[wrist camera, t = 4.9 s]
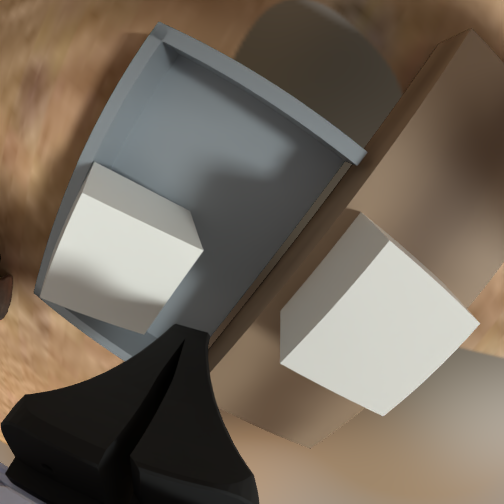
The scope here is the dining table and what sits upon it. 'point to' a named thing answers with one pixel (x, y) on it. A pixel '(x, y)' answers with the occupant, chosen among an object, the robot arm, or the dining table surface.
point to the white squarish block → (120, 252)
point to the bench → (392, 222)
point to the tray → (206, 172)
